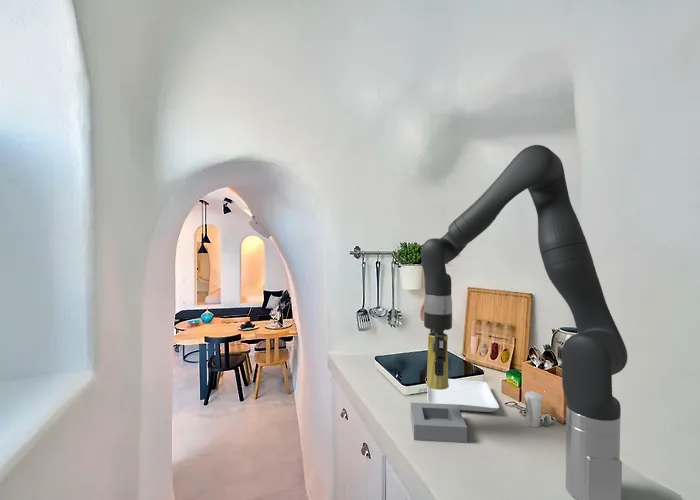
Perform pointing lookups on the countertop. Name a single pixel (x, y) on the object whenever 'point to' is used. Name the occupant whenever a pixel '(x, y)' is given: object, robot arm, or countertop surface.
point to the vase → (432, 379)
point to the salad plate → (465, 396)
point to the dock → (438, 422)
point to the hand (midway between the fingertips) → (437, 371)
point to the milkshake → (533, 408)
